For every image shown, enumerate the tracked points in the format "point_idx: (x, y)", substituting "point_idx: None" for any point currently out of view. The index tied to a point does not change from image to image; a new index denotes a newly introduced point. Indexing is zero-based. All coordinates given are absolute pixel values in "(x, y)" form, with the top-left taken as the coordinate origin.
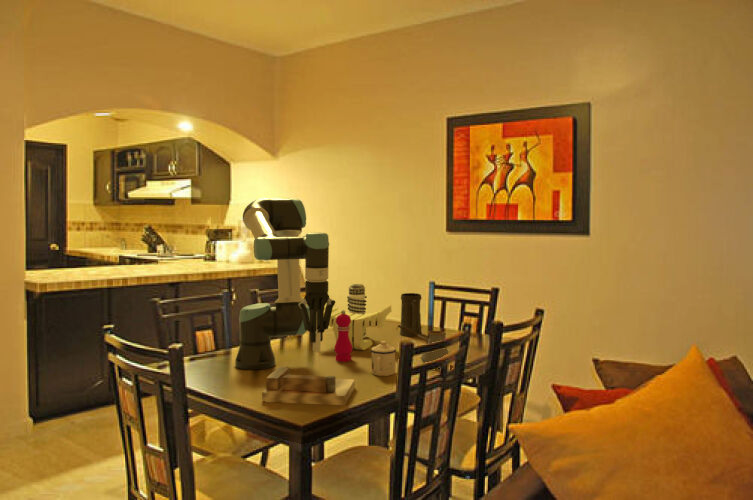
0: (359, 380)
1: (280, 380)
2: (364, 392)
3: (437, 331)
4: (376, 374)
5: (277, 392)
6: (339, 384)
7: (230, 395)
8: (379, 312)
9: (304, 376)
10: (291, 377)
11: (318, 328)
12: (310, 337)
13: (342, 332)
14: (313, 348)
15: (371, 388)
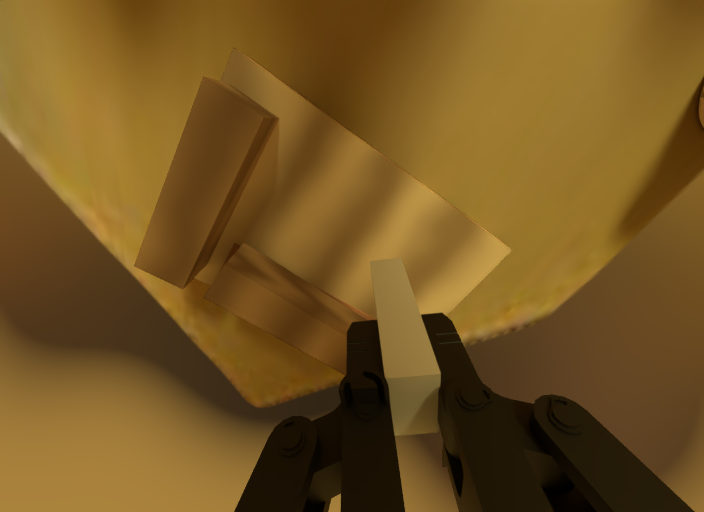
0: (581, 148)
1: (208, 247)
2: (494, 284)
3: None
4: (700, 109)
5: (205, 278)
6: (430, 281)
7: (39, 117)
8: None
9: (290, 318)
10: (238, 312)
11: (455, 436)
12: (347, 350)
13: None
14: (372, 283)
15: (539, 259)
